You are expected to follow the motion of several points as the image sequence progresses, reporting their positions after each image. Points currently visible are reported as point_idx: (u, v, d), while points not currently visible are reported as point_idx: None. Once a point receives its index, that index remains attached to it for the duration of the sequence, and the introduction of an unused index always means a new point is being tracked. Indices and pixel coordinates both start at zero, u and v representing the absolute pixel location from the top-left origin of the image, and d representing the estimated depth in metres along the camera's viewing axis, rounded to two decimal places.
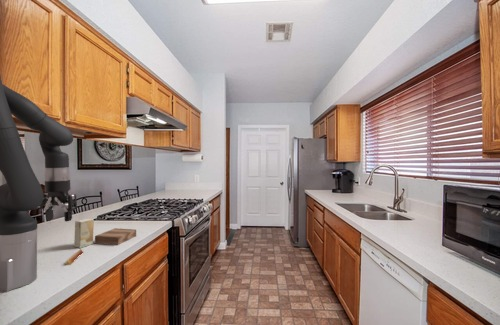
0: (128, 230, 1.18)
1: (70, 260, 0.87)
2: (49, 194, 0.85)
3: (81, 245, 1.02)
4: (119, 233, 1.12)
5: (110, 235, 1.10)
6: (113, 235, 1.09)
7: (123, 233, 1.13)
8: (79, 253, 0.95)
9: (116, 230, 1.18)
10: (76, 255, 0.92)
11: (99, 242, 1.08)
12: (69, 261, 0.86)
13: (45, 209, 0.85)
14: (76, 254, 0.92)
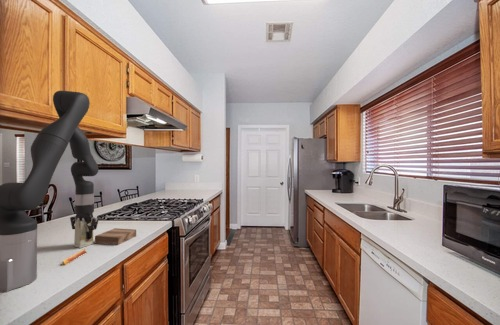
0: (128, 230, 1.18)
1: (67, 260, 0.87)
2: (77, 215, 1.05)
3: (81, 245, 1.02)
4: (119, 234, 1.12)
5: (110, 235, 1.10)
6: (113, 235, 1.09)
7: (123, 233, 1.13)
8: (81, 253, 0.95)
9: (116, 230, 1.18)
10: (76, 255, 0.92)
11: (99, 242, 1.08)
12: (65, 261, 0.86)
13: None
14: (77, 254, 0.92)
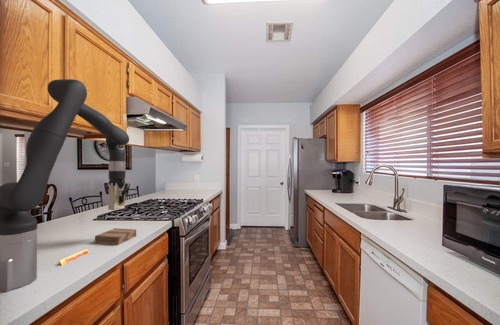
0: (128, 230, 1.18)
1: (65, 260, 0.87)
2: (110, 181, 1.13)
3: (115, 208, 1.11)
4: (119, 234, 1.12)
5: (110, 235, 1.10)
6: (113, 235, 1.09)
7: (123, 233, 1.13)
8: (82, 253, 0.94)
9: (116, 230, 1.18)
10: (76, 255, 0.92)
11: (99, 242, 1.08)
12: (62, 261, 0.86)
13: None
14: (77, 254, 0.92)
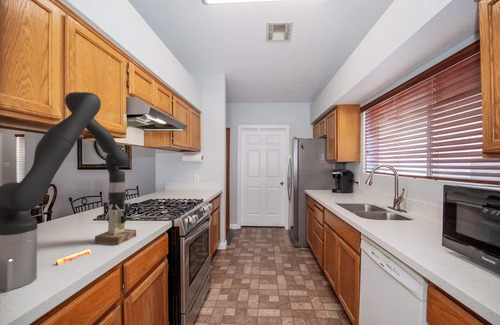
0: (128, 230, 1.18)
1: (63, 260, 0.87)
2: (110, 202, 1.13)
3: (115, 232, 1.11)
4: (119, 234, 1.12)
5: (110, 235, 1.10)
6: (113, 236, 1.09)
7: (123, 233, 1.13)
8: (83, 254, 0.94)
9: None
10: (76, 255, 0.92)
11: (99, 242, 1.08)
12: (59, 261, 0.86)
13: (108, 214, 1.14)
14: (77, 254, 0.92)
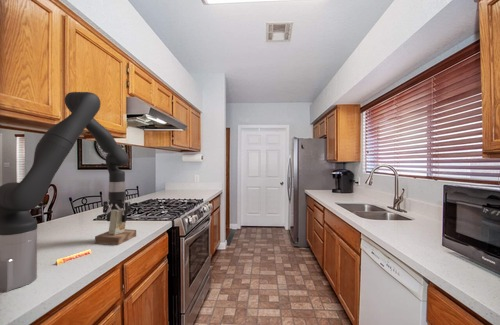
0: (128, 230, 1.18)
1: (62, 260, 0.87)
2: (110, 201, 1.13)
3: (115, 232, 1.11)
4: (119, 234, 1.12)
5: (110, 235, 1.10)
6: (113, 236, 1.09)
7: (123, 233, 1.13)
8: (83, 254, 0.94)
9: None
10: (76, 255, 0.92)
11: (99, 242, 1.08)
12: (59, 261, 0.86)
13: (107, 213, 1.14)
14: (77, 254, 0.92)
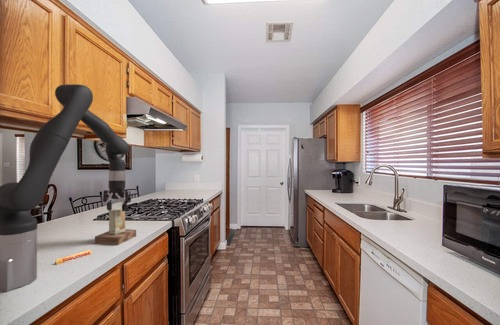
0: (128, 230, 1.18)
1: (61, 260, 0.88)
2: (110, 190, 1.13)
3: (116, 232, 1.11)
4: (119, 234, 1.12)
5: (110, 235, 1.10)
6: (113, 236, 1.09)
7: (123, 233, 1.13)
8: (83, 254, 0.94)
9: None
10: (76, 255, 0.92)
11: (99, 242, 1.08)
12: (58, 261, 0.87)
13: (107, 202, 1.14)
14: (77, 254, 0.92)
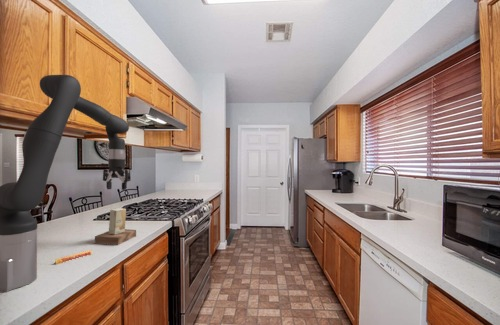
0: (128, 230, 1.18)
1: (61, 260, 0.88)
2: (110, 169, 1.13)
3: (115, 232, 1.11)
4: (119, 234, 1.12)
5: (110, 235, 1.10)
6: (113, 236, 1.09)
7: (123, 233, 1.13)
8: (83, 254, 0.94)
9: None
10: (76, 256, 0.92)
11: (98, 242, 1.08)
12: (58, 260, 0.87)
13: (107, 181, 1.14)
14: (77, 254, 0.92)
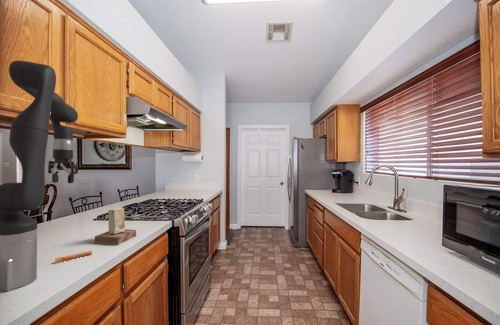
0: (128, 230, 1.18)
1: (61, 259, 0.88)
2: (56, 161, 1.05)
3: (115, 231, 1.11)
4: (119, 234, 1.12)
5: (110, 235, 1.10)
6: (113, 236, 1.09)
7: (122, 233, 1.13)
8: (83, 254, 0.93)
9: None
10: (76, 256, 0.91)
11: (98, 242, 1.08)
12: (57, 260, 0.87)
13: (52, 173, 1.05)
14: (77, 255, 0.92)
